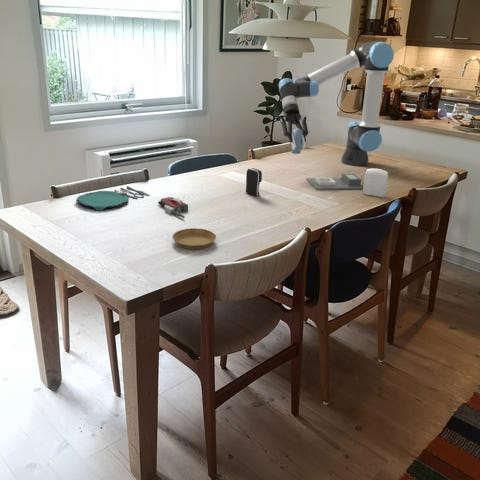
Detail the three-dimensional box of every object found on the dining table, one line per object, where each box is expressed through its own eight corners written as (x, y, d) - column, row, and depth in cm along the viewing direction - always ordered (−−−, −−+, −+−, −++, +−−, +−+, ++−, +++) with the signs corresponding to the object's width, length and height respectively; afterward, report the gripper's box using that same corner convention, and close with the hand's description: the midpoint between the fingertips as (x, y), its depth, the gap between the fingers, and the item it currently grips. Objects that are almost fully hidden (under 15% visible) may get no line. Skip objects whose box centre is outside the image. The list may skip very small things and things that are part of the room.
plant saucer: (186, 256, 160) (186, 248, 159) (164, 240, 171) (164, 233, 170) (224, 246, 168) (224, 239, 167) (201, 232, 179) (201, 225, 178)
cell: (299, 151, 245) (301, 128, 241) (301, 153, 241) (303, 129, 237) (290, 151, 245) (292, 127, 240) (292, 153, 241) (294, 129, 236)
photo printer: (361, 194, 229) (365, 168, 224) (363, 191, 233) (367, 166, 228) (383, 198, 225) (388, 171, 220) (385, 195, 228) (390, 169, 224)
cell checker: (351, 179, 250) (353, 172, 248) (364, 189, 236) (365, 181, 234) (306, 180, 246) (307, 172, 244) (316, 190, 231) (317, 181, 230)
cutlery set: (67, 202, 200) (66, 197, 199) (126, 188, 222) (125, 183, 221) (97, 215, 189) (97, 209, 188) (156, 199, 211) (156, 194, 210)
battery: (261, 195, 220) (263, 170, 216) (255, 196, 218) (257, 171, 213) (251, 191, 225) (252, 166, 221) (245, 192, 223) (246, 167, 218)
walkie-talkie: (153, 206, 202) (181, 221, 188) (153, 196, 200) (181, 210, 186) (171, 202, 207) (200, 216, 193) (171, 192, 205) (200, 206, 192)
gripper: (304, 112, 252) (313, 151, 244) (272, 111, 248) (279, 152, 240) (309, 102, 245) (318, 143, 237) (276, 102, 241) (284, 144, 233)
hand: (299, 147), depth 238 cm, fingers closed on cell, 4 cm apart
